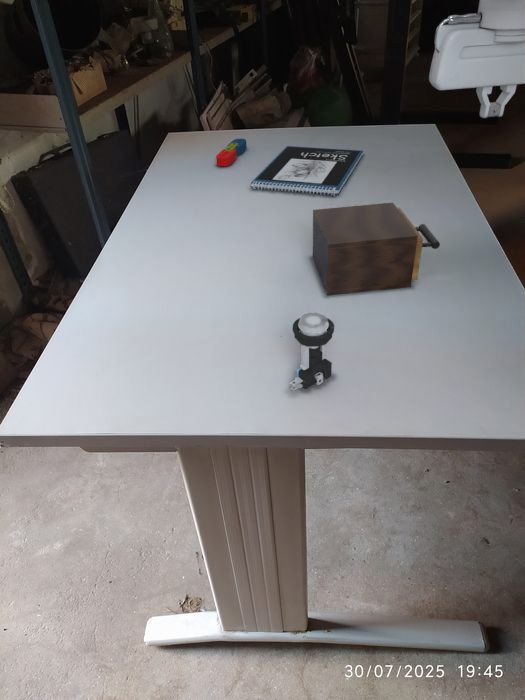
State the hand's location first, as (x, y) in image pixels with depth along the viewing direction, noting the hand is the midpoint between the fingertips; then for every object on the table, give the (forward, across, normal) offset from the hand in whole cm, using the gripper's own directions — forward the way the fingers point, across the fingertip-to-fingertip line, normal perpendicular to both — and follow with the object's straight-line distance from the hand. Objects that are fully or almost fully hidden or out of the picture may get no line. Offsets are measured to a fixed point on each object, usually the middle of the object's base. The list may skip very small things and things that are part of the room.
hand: (490, 116), depth 83 cm
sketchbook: (+25, -19, +52) cm, 61 cm away
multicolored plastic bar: (+25, -38, +68) cm, 82 cm away
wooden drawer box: (+25, -19, 0) cm, 31 cm away
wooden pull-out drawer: (+24, -15, 0) cm, 29 cm away
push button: (+25, -33, -28) cm, 50 cm away
